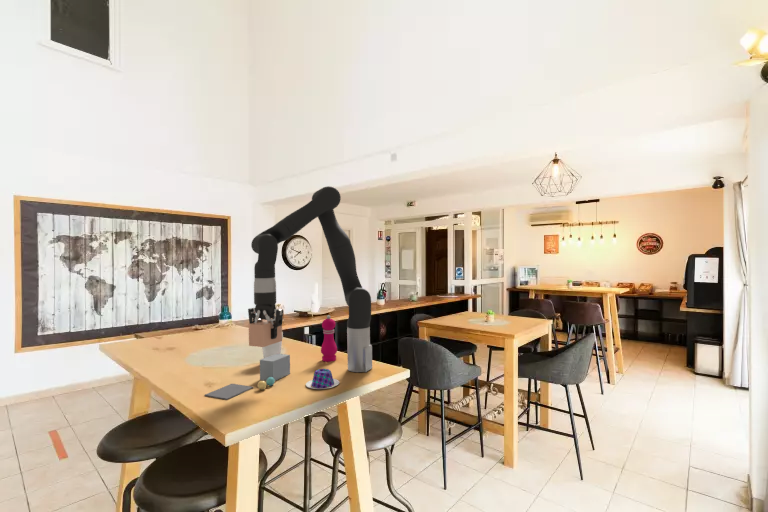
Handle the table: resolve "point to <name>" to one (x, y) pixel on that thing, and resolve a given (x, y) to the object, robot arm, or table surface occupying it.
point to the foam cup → (272, 349)
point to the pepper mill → (328, 340)
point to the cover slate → (275, 366)
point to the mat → (229, 391)
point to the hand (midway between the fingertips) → (265, 337)
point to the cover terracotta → (263, 334)
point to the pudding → (322, 380)
